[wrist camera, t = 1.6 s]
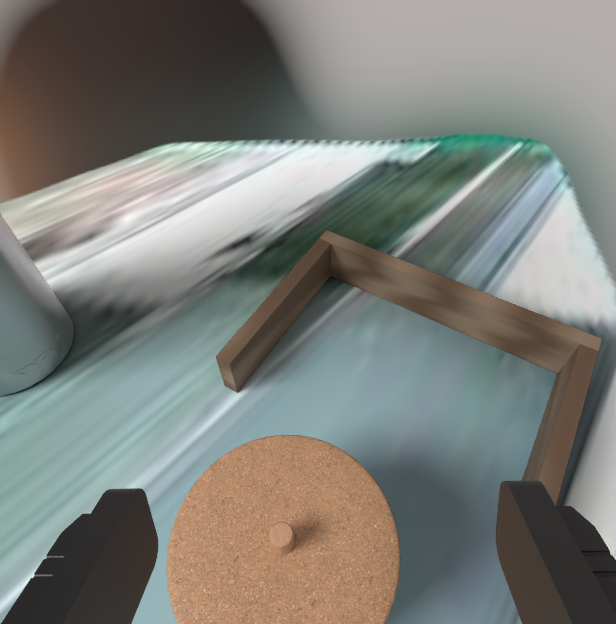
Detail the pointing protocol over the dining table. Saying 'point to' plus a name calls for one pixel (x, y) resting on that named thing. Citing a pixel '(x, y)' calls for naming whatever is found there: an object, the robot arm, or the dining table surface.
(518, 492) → the robot arm
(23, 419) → the dining table surface
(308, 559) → the lidded jar
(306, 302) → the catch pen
